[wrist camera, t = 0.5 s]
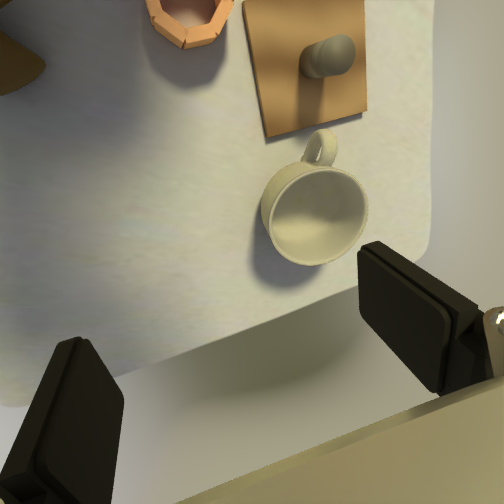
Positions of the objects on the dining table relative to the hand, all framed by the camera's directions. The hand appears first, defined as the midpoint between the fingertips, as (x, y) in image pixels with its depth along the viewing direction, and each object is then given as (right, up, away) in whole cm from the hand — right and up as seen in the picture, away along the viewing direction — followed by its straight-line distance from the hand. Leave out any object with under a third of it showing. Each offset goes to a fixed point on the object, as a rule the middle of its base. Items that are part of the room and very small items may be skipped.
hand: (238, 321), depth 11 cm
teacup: (+6, +10, +28) cm, 30 cm away
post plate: (+6, +22, +22) cm, 32 cm away
